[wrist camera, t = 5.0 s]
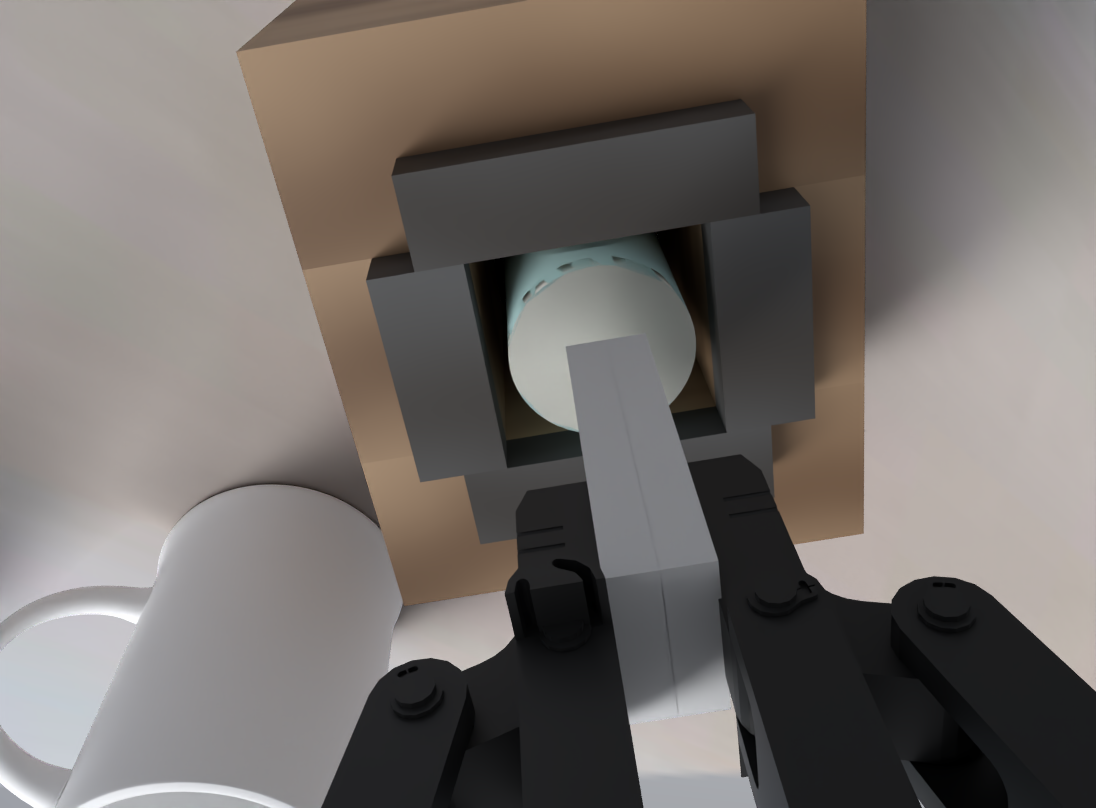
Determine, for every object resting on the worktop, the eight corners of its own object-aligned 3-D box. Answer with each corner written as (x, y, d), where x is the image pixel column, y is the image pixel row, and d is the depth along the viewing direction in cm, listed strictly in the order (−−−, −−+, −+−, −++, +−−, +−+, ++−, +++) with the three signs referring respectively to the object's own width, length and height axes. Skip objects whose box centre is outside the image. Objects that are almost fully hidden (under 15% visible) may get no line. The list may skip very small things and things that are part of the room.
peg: (490, 161, 28) (492, 282, 20) (632, 136, 27) (687, 250, 20) (515, 291, 30) (525, 447, 22) (647, 269, 29) (702, 417, 22)
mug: (32, 578, 35) (-163, 896, 24) (124, 396, 31) (-56, 675, 21) (337, 698, 38) (281, 1020, 28) (448, 547, 35) (432, 848, 25)
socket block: (303, -7, 26) (221, 64, 18) (762, -88, 25) (889, -54, 17) (421, 443, 33) (400, 638, 25) (782, 384, 32) (879, 563, 24)
